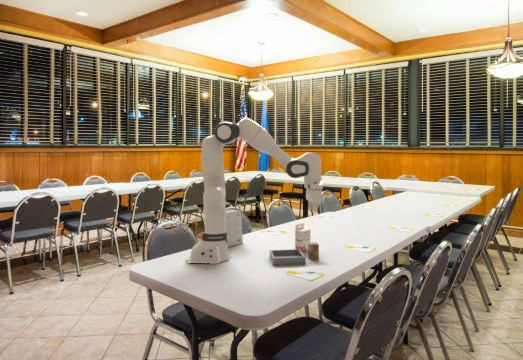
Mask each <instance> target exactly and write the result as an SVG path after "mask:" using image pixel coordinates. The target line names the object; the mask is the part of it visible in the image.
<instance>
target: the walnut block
mask: <svg viewBox="0 0 523 360" xmlns="http://www.w3.org/2000/svg"><path fill="white" fill-rule="evenodd" d="M319 245H320V244H319V243H318V242H317V241H315V242H310V243H308V250H307V251H308V252H307V253H308V255H307V256H308V257H307V258H308V259H309V261H319V260H320V251H319V250H320V249H319V248H320V246H319Z"/></svg>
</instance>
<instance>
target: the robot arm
mask: <svg viewBox="0 0 523 360" xmlns="http://www.w3.org/2000/svg"><path fill="white" fill-rule="evenodd" d="M237 139H241V140H243V141H244V142H246V144H248V145H249V146H250V147H252V148H253V149H255V150H257V151H258V152H259V153H264V154H266V155H268V156H270V157H271V158H273V159H274V160H275V161H277V162H278V163H279V164H280V165H282V167H283V168H284V169H285V172H286V174H287V175H288V176H289V177H290V178H292V179H299V178H302V177H303V184H304V185H303V186H304V187H303V188H305V200H306V201H308V206H309V207H308V209H309V210H310V211H313V213H315V214H317V213H318V208H319V205H321V203H322V200H323V199H322V197H323V189H324V186H323V185H324V184H323V181H322V178H323V177H322V174H321V173H322V158H321V156H320V154H318V153H315V152H309V151H307V152H305V153H303V154H302V155H300V156H299V157H296V158H295V157H293V156H291V155H289V154H288V153H287V152H286V151H284V150H283V149H282V148H281V147H279V146H278V144H277V143H276V141H275V139H274V138H273V137H272V135H271V134H270V132H268V131H267V130H266V129H265V128H264V127H263V126H262V125H260V124H259V123H258V122H256V121H254V120H253V119H251V118H249V117H244V118H242V119H240V120H239V121H238V122H237V123H236V122H230V121H222V122H219V123H218V124H217V125H216V126H215V128H214V134H213V135H209V136H206V137H205V138H203V139H202V142H201V152H200V153H201V172H202V178H203V188H204V192H203V193H202V199H203V200H202V201H203V213H204V215H203V216H204V231H201V233H200V237H201V238H200V239H201V240H199V241H198V242H197V243H196V244H194V246H193V247H192V248H191V250H190V255H188V256H187V257H186V263H187V262H190V263H205V265H206V263H210V264H209V265H215V264H216V265H217V264H221V263H223V262H227V261H229V260H231V256H230V252H229V247H228V246H227V241H228V234H227V231H226V211H227V210H226V196H227V195H226V194H227V192H226V180H225V179H226V177H225V167H224V165H225V164H224V152H223V151H224V150H223V149H224V146H226V145H229V144H233V143H234V142H236V141H237ZM190 263H189V264H190Z"/></svg>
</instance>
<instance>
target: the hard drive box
mask: <svg viewBox="0 0 523 360" xmlns="http://www.w3.org/2000/svg"><path fill="white" fill-rule="evenodd" d="M226 231H227V234H228V241H227V246H228V248H229V247H232V246H236V245H240V244H243V241H244V240H243V215H242V210H238V209H237V210H236V209H231V210H226Z"/></svg>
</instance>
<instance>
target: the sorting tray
mask: <svg viewBox="0 0 523 360" xmlns="http://www.w3.org/2000/svg"><path fill="white" fill-rule="evenodd" d="M306 258H307V257H306V256H305V254H304V252H301V250H300V249H295V248H294V249H293V248H292V249H270V250H269V259H270V260H271V261H270V262H271V264H272V266H273V267H274V266H292V265H293V266H295V265H306Z"/></svg>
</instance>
